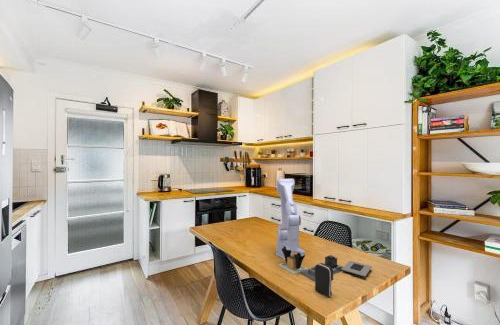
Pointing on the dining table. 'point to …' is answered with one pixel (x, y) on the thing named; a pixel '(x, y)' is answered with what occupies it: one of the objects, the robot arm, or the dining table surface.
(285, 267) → the tray
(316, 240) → the dining table surface
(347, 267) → the electrical outlet
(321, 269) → the battery charger
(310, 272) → the pdu strip
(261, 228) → the dining table surface
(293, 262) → the plug
